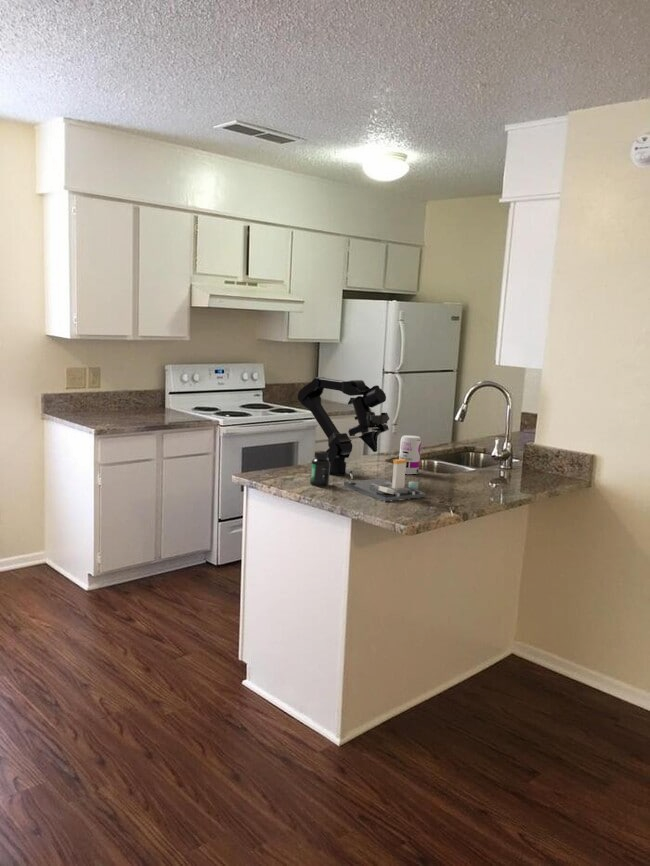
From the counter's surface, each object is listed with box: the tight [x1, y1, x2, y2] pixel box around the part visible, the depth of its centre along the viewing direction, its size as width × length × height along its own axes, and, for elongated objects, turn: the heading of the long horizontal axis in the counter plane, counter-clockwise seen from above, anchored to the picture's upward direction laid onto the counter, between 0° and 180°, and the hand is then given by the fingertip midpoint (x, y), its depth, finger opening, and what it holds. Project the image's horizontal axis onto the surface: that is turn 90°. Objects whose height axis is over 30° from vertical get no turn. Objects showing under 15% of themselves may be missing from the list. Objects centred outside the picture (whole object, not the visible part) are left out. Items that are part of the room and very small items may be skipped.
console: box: [343, 477, 426, 502], centre depth 257 cm, size 24×18×2 cm
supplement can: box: [398, 434, 422, 475], centre depth 290 cm, size 8×8×15 cm
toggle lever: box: [348, 469, 354, 481], centre depth 260 cm, size 1×1×4 cm
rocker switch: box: [378, 486, 394, 494], centre depth 247 cm, size 4×3×1 cm
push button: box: [407, 480, 419, 490], centre depth 253 cm, size 3×3×2 cm
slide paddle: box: [388, 458, 408, 494], centre depth 250 cm, size 5×5×11 cm
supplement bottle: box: [309, 450, 331, 488], centre depth 261 cm, size 7×7×12 cm
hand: (375, 451), depth 267 cm, fingers closed
